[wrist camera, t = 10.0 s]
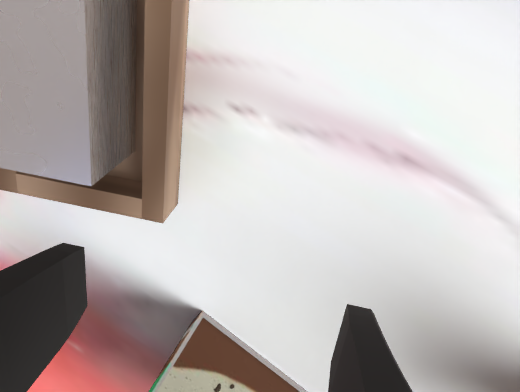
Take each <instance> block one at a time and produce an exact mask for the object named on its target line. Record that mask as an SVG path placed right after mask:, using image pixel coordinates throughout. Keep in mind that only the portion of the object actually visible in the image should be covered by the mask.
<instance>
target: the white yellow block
mask: <svg viewBox="0 0 520 392" xmlns="http://www.w3.org/2000/svg"><path fill="white" fill-rule="evenodd" d="M136 29H137V0H0V168H4V169H9V170H14V171H18V172H23V173H28V174H33V175H38V176H43V177H48V178H52V179H57V180H62V181H67V182H72V183H77V184H82V185H87V186H92V185H94V184H95V183H96V182H97V181H99V180H100V179H101V178H102V177H104V176H105V175H106V174H107V173H109V172H110V171H111V170H112V169H114V168H115V167H116V166H117V165H119V164H120V163H121V162H122V161H123V160H125V159H126V158H127V157H128V156H130V155H131V154H132V153H133V152H135V119H136Z"/></svg>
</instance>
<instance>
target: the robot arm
mask: <svg viewBox="0 0 520 392" xmlns="http://www.w3.org/2000/svg"><path fill="white" fill-rule="evenodd" d="M86 307H87V292H86V273H85V254H84V247H80V246H75V245H71V244H66V243H62V244H59V245H57V246H54V247H52V248H49V249H47V250H45V251H43V252H40V253H38V254H36V255H34V256H32V257H30V258H27V259H25V260H23V261H21V262H19V263H17V264H14V265H12V266H10V267H8V268H5V269H3V270H1V271H0V392H27V391H28V389H29V388H30V387H31V386H32V384H33V383H34V382H35V380H36V379H37V378H38V377H39V375H40V374H41V373H42V372H43V370H44V369H45V368H46V366H47V365H48V364H49V363H50V361H51V360H52V359H53V357H54V356H55V355H56V354H57V352H58V351H59V350H60V348H61V347H62V346H63V344H64V343H65V342H66V340H67V339H68V338H69V336H70V335H71V333H72V331H73V330H74V328H75V326H76V325H77V323H78V321H79V320H80V318H81V316H82V314H83V313H84V311H85V309H86ZM328 392H412V390H411V388H410V387H409V385H408V383H407V381H406V379H405V378H404V376H403V374H402V372H401V370H400V368H399V366H398V364H397V363H396V361H395V359H394V357H393V355H392V353H391V351H390V349H389V346H388V344H387V342H386V340H385V338H384V336H383V334H382V331H381V329H380V327H379V325H378V322H377V320H376V318H375V315H374V313H373V312H372V310H371V309H367V308H362V307H358V306H353V305H349V304H347V307H346V310H345V314H344V317H343V321H342V324H341V328H340V332H339V335H338V339H337V342H336V346H335V350H334V353H333V357H332V360H331V368H330V379H329V390H328Z"/></svg>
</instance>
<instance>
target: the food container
mask: <svg viewBox="0 0 520 392" xmlns="http://www.w3.org/2000/svg"><path fill="white" fill-rule="evenodd" d="M149 392H307V391H306V390H305V389H303V388H302V387H301V386H299V385H298V384H297V383H296V382H294V381H293V380H292V379H290V378H289V377H288V376H286V375H285V374H284V373H283V372H281V371H280V370H279V369H277V368H276V367H275V366H274V365H272V364H271V363H270V362H268V361H267V360H266V359H264V358H263V357H262V356H261V355H259V354H258V353H257V352H255V351H254V350H253V349H251V348H250V347H249V346H248V345H246V344H245V343H244V342H242V341H241V340H240V339H239V338H237V337H236V336H235V335H233V334H232V333H231V332H229V331H228V330H227V329H226V328H224V327H223V326H222V325H220V324H219V323H218V322H216V321H215V320H214V319H213V318H211V317H210V316H209V315H207V314H206V313H205V312H204V311H201V313H200V314H199V315H198V316H197V317H196V318H195V319H194V321H193V322H192V323H191V325H190V326H189V328H188V329H187V331H186V333H185V334H184V336H183V337H182V339H181V341H180V342H179V344H178V345H177V347H176V349H175V350H174V352H173V353H172V355H171V357H170V358H169V360H168V361H167V363H166V365H165V366H164V368H163V369H162V371H161V373H160V374H159V376H158V378H157V379H156V381H155V382H154V384H153V386H152V387H151V389H150V390H149Z"/></svg>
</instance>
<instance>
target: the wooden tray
mask: <svg viewBox="0 0 520 392" xmlns="http://www.w3.org/2000/svg"><path fill="white" fill-rule="evenodd" d="M188 12H189V0H137V29H136V119H135V152H133V153H132V154H131V155H130V156H128V157H127V158H126V159H125V160H123V161H122V162H121V163H120V164H119V165H117V166H116V167H115V168H114V169H112V170H111V171H110V172H109V173H107V174H106V175H105V176H104V177H102V178H101V179H100V180H99V181H97V182H96V183H95V184H94V185H92V186H87V185H82V184H77V183H72V182H67V181H62V180H57V179H52V178H48V177H43V176H38V175H33V174H28V173H23V172H18V171H14V170H9V169H4V168H0V190H5V191H10V192H15V193H19V194H24V195H29V196H34V197H39V198H44V199H48V200H53V201H58V202H63V203H68V204H72V205H77V206H82V207H87V208H92V209H97V210H101V211H106V212H111V213H116V214H121V215H126V216H130V217H135V218H140V219H145V220H150V221H155V222H159V223H163V222H164V221H165V220H166V218H167V217H168V216H169V214H170V213H171V212H172V211H173V209H174V208H175V207H176V205H177V204H178V190H179V172H180V155H181V137H182V119H183V101H184V83H185V65H186V47H187V29H188Z"/></svg>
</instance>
